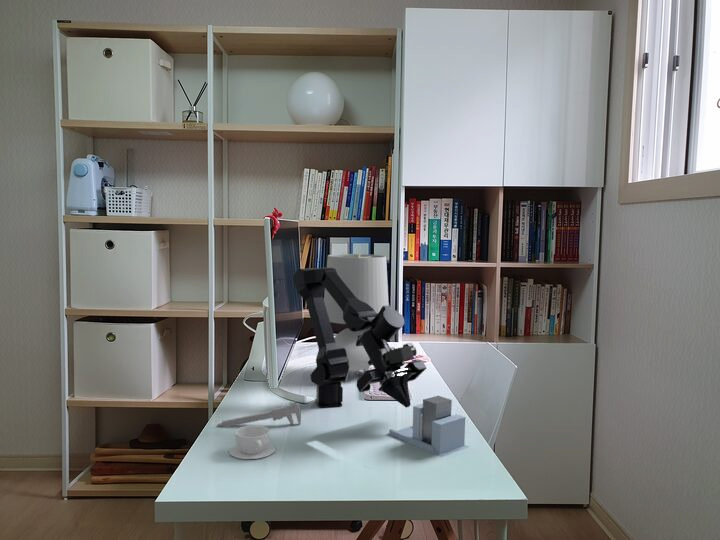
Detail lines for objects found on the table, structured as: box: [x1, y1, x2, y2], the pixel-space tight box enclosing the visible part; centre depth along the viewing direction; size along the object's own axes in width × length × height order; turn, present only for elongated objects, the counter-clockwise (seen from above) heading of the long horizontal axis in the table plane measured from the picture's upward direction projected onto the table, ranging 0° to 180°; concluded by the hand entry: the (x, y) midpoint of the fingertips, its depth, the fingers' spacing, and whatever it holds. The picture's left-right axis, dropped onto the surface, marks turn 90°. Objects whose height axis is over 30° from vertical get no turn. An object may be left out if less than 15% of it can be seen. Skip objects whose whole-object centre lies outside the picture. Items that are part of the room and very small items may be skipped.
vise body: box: [387, 413, 470, 457], centre depth 134 cm, size 17×9×8 cm, turn 40°
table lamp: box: [323, 253, 390, 383], centre depth 190 cm, size 23×22×40 cm
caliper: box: [216, 400, 302, 428], centre depth 145 cm, size 20×1×6 cm, turn 97°
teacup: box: [228, 424, 276, 460], centre depth 129 cm, size 10×10×5 cm
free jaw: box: [412, 403, 423, 441], centre depth 134 cm, size 2×6×8 cm, turn 130°
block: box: [422, 395, 453, 445], centre depth 131 cm, size 4×5×10 cm
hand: (408, 406), depth 138 cm, fingers closed
